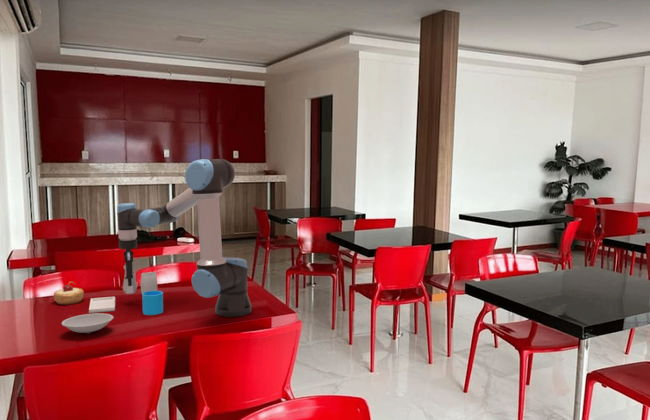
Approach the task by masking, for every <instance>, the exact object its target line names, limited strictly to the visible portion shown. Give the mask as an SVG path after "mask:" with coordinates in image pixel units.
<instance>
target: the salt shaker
mask: <svg viewBox="0 0 650 420" xmlns="http://www.w3.org/2000/svg"><path fill="white" fill-rule="evenodd" d="M123 269H124V278H123V283H122V290H123V292H124V293H125V295H132V294H133V295H134V294H135V293H136V292H137V288H138V285H137V282H136V277H135V273H134V269H135V264H133V263H132V273H133V291H134V293H127V284H126V279H125V277H126V276H127V275H126V263H124V265H123Z"/></svg>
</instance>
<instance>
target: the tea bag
mask: <svg viewBox="0 0 650 420" xmlns="http://www.w3.org/2000/svg"><path fill="white" fill-rule="evenodd" d="M157 278H158V277H157V271H149V272H142V273H141V274H140V293H141V295H142V294H143V293H144V292H147V291H158V279H157Z"/></svg>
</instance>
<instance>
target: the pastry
mask: <svg viewBox="0 0 650 420" xmlns="http://www.w3.org/2000/svg"><path fill="white" fill-rule="evenodd" d="M70 283H72V284H74V285H76V283H74V281H69V282H68V284H65V285H64V286H63V287H62V288H61V289H58V290H56V291H54V293H53V299H54V302H56V304H58V305H63V306H64V305H65V306H66V305H75V304H78V303H80V302H82V300H83V298H84V293H85V292H84V290H83V288H79V287H73V286H72V285H70Z"/></svg>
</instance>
